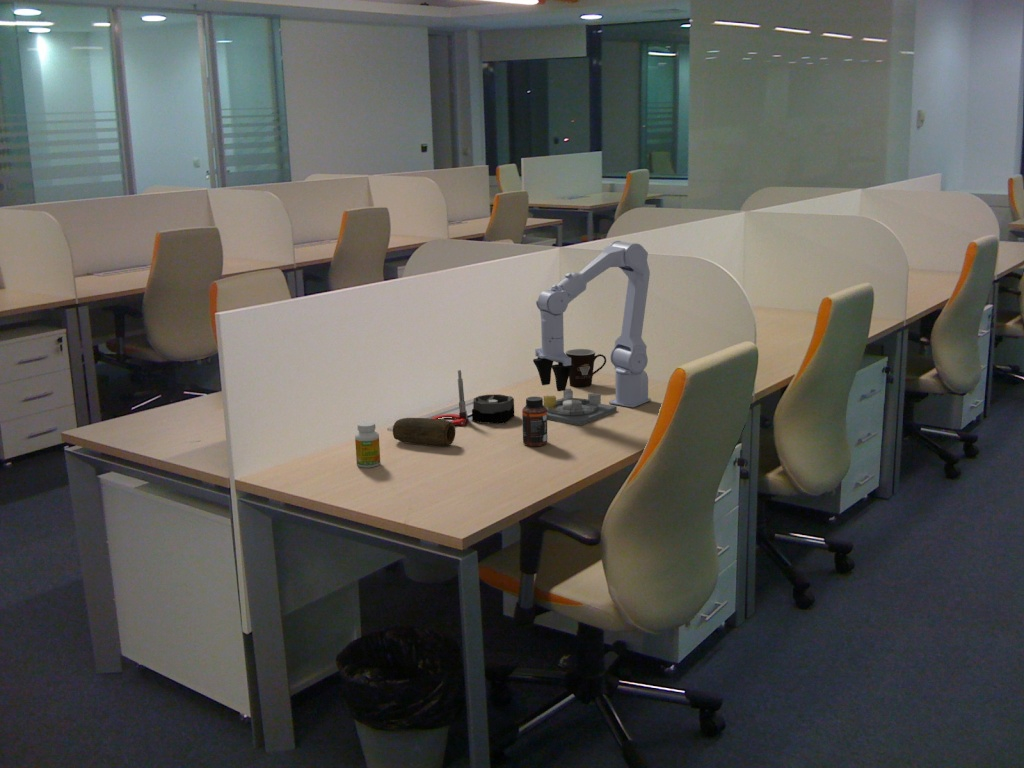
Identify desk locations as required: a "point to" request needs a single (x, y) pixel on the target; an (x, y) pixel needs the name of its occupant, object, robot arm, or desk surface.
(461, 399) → the tow hook
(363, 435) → the supplement bottle
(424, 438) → the brown hollow cylinder
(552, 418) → the cap plate
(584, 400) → the ring nut
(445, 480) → the desk surface
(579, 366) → the coffee mug
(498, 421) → the cpu cooler
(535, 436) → the supplement bottle
